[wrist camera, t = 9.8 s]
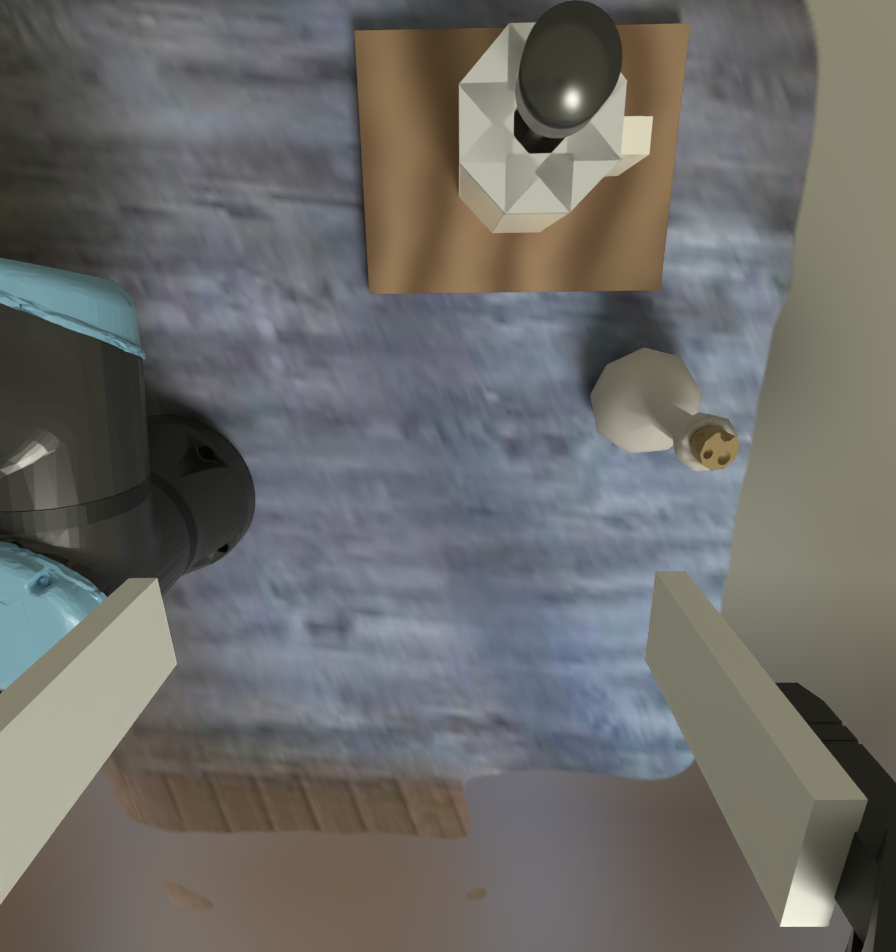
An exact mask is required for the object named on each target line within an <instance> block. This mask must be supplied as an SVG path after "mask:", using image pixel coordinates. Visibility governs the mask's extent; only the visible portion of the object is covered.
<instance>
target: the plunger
mask: <svg viewBox="0 0 896 952" xmlns="http://www.w3.org/2000/svg"><path fill="white" fill-rule="evenodd" d="M622 54H623V53H622V44H621V39H620V36H619V33H618V30H617V28H616V26H615V24H614V22H613V21H612V19H611V18H610V17H609V16H608V14H607V13H606V12H604V11H603V10H602V9H601V8H599V7H598V6H596V5H594V4H592V3H589V2H585V1H576V0H575V1H567V2H564V3H561V4H558V5H556V6H554V7H553V8H551V9H549V10H548V11H547V12H546V13H544V14H543V15H542V16H541V17H540V18H539V19H538V21H537V22H536V23H535V25H534V26H533V28H532V30H531V31H530V33H529V35H528V38H527V40H526V43H525V47H524V50H523V54H522V57H521V61H520V64H519V68H518V72H517V75H516V80H515V99H516V104H517V108H518V111H519V113H520V115H521V117H522V119H523V120H524V122H525V123H526V124H527V125H528V127H529V128H528V130H527V133H526V135H525V137H524V139H523V142H522V144H521V145H522V146H523V147H524V149H525V150H526V151H527V152H528V153H529V154H534V152H535V151H536V149H537V147H538V145H539V144H540V142H541V140H542V139H543V137H548V138H564V137H568V136H571V135H573V134H575V133H577V132H578V131H580V130H581V129H582V128H584V127H585V126H586V125H587V124H588V123H589V122H590V120H591V119H592V118H593V117H594V115H595V114H596V113H597V112H598V110H599V109H600V108H601V107H602V105H603V104H604V103H605V102H606V100H607V99H608V98H609V97H610V95H611V94H612V92H613V90H614V88H615V86H616V84H617V82H618V79H619V76H620V72H621V67H622Z"/></svg>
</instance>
